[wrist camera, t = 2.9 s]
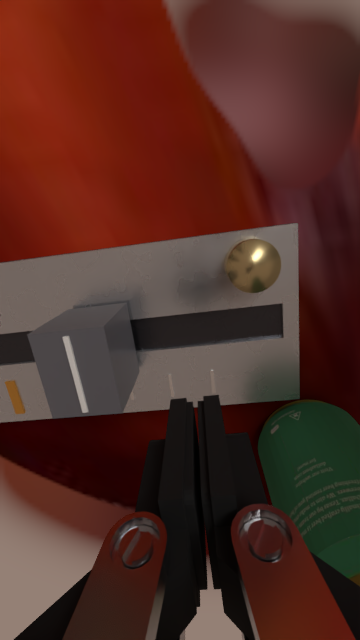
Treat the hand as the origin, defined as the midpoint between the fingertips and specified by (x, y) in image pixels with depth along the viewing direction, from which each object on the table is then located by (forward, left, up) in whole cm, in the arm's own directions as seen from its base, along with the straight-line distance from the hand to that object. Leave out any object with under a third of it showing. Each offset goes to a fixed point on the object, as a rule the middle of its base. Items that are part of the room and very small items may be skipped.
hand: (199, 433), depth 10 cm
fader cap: (+6, 0, -10) cm, 12 cm away
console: (+5, 0, -12) cm, 13 cm away
